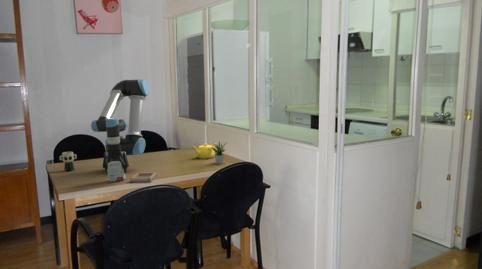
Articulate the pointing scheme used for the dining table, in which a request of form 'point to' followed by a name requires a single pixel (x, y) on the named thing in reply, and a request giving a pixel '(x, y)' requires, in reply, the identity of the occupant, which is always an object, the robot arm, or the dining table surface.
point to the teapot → (205, 151)
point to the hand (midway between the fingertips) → (116, 178)
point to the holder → (143, 177)
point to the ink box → (115, 171)
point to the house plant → (219, 153)
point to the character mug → (68, 160)
